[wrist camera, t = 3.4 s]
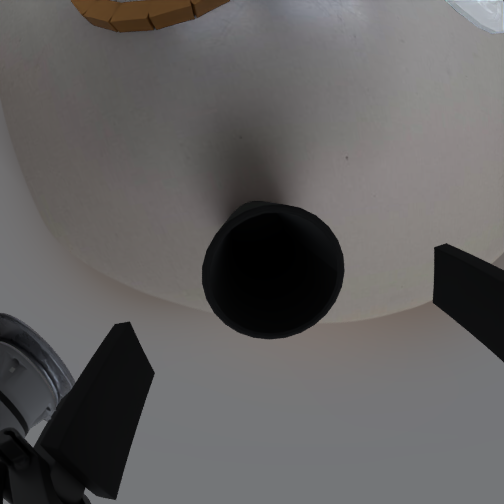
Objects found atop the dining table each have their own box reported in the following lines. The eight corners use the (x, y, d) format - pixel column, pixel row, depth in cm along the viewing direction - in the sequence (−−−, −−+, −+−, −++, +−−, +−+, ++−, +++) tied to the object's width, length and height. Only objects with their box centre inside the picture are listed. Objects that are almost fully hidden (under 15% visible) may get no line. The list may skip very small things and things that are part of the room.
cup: (311, 210, 26) (368, 242, 15) (276, 281, 28) (304, 354, 16) (235, 175, 25) (237, 179, 13) (203, 251, 26) (181, 312, 15)
